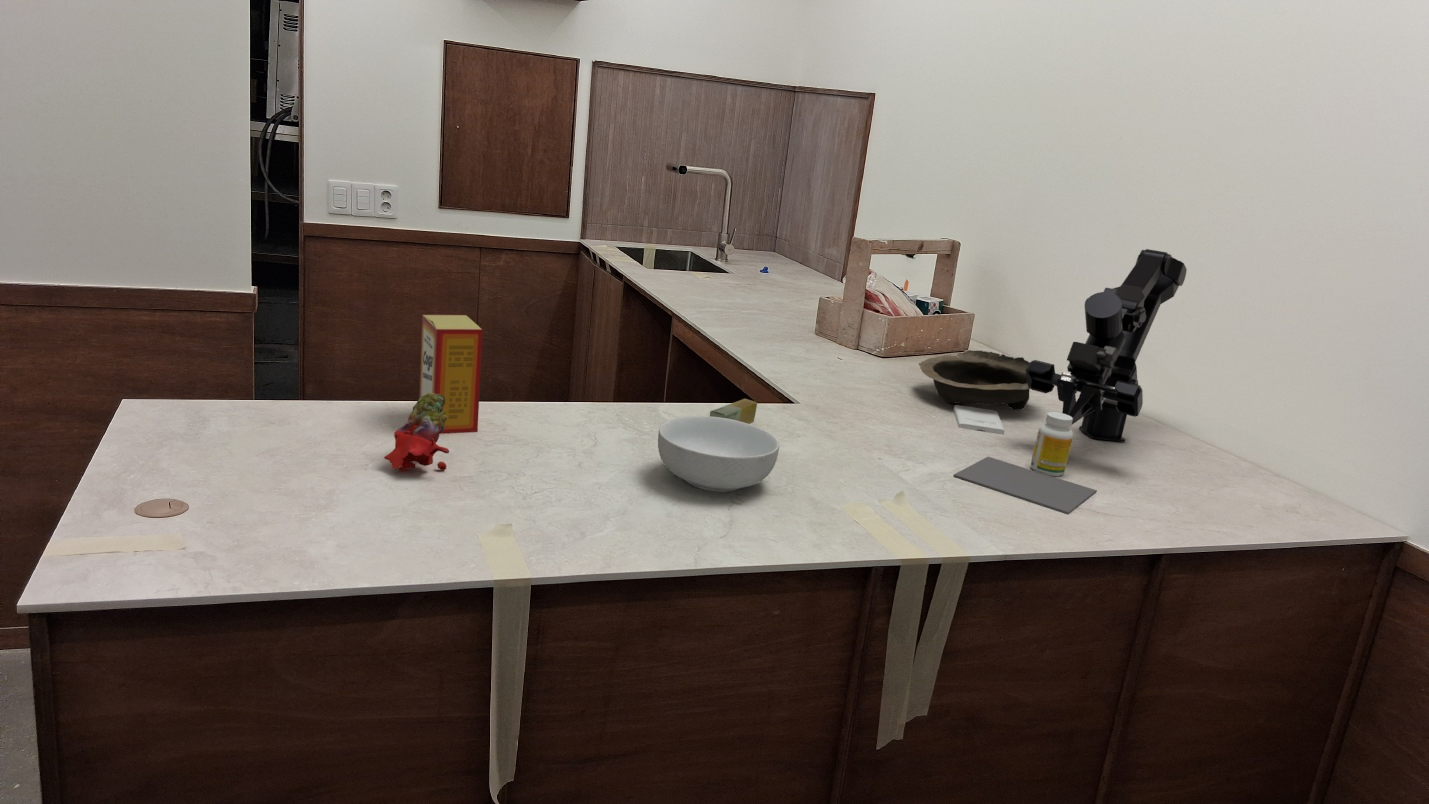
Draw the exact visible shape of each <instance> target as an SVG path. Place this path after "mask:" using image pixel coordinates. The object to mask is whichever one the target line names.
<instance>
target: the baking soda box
mask: <svg viewBox="0 0 1429 804" xmlns="http://www.w3.org/2000/svg"><path fill="white" fill-rule="evenodd" d="M483 331H484V330H483V329H482V328H481V327H480V326H479V325H478V324H477V323H476V322H475V321H474V320H472V319H471V318H470V317H469V316H468V315H467V314H422V315H421V338H420V339H421V341H420V370H419V371H420V373H419V398H418V400H419V399H420V397H422V396H424V395H426V394H428V393H435V394H439V395H443V396H444V397H445V404H444V405H443V407H442V409H443V410H445V415H446V416H447V420H446V421H445V423H444V429H443V431H442V432H441V433H440V434H439V435H444V434H461V433H463V434H465V433H478V430H479V429H478V427H479V408H480V407H479V406H480V394H481V393H480V391H481V388H480V387H481V374H482V373H481V368H482V355H483V353H482V350H483Z"/></svg>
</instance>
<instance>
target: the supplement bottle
mask: <svg viewBox="0 0 1429 804" xmlns="http://www.w3.org/2000/svg"><path fill="white" fill-rule="evenodd" d="M1072 421H1073V418H1072V417H1071V416H1069V415H1066V414H1063V413H1062V412H1058V411H1057V412H1056V411H1049V412H1047V413H1046V417H1045V423H1043V424H1042V425H1040V426H1039V428H1038V432H1037V435H1036V440H1035V444H1034V449H1033V452H1032V458H1031V462H1030V468H1031V470H1033V471H1036V472H1040V473H1043V474H1046V475H1049V476H1052V477H1060V476H1063V475H1064V474H1065V471H1066V468H1067V463H1068V458H1069V455H1070V450H1071V447H1072V442H1073V440H1074V438H1073V437H1074V433H1073V431H1072V429H1070V428H1071V426H1072Z"/></svg>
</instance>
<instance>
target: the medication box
mask: <svg viewBox="0 0 1429 804" xmlns="http://www.w3.org/2000/svg"><path fill="white" fill-rule="evenodd" d="M757 407H758V402H756V401H754V400H750V399H747V398H742V399H740V400H738V401H735V402H732V403H729V404H726V405H724V406H721V407H719V408H715V409H714V410H710V412H709V416H710V417H720V418H727V419H732V420H736V421H741V422H744V423H748V424H752V423H754V421H755V418H756V412H757Z"/></svg>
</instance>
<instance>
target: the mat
mask: <svg viewBox="0 0 1429 804" xmlns="http://www.w3.org/2000/svg"><path fill="white" fill-rule="evenodd" d="M953 477H954V478H957V479H960V480H963V481H966V482H968V483H973V484H976V485H978V486H981V487H984V488H987V489H991V490H993V491H996V492H1000V493H1003V494H1005V495H1009V496H1011V497H1015V498H1018V499H1022V500H1024V501H1027V502H1031V503H1032V504H1036V505H1038V506H1039V505H1040V506H1042V507H1045V508H1048V509H1051V510H1054V511H1058V512H1060V513H1064V514H1067V515H1069V514H1070V513H1071V512H1073V511H1074V510H1075V509H1077V508H1078V507H1079V506H1081V505H1082V504H1083V503H1085V502H1086V501H1087V500H1088V499H1089V498H1091V497H1093V495H1095V494H1096V493H1097V489H1094V488H1092V487H1091V488H1090V487H1087V486H1084V485H1081V484H1078V483H1076V482H1075V483H1074V482H1072V481H1068V480H1064V479H1063V478H1058V477H1057V476H1049V475H1046V474H1043V473H1040V472H1036V471H1034V470H1033V469H1030V468H1026V467H1023V466H1019V465H1017V464H1013V463H1010V462H1007V461H1004V460H1000V459H997V458H994V457H991V456H986V457H984V458H982V459H981V460H979V461H976V462H975V463H973V464H971V465H969V466H968V467H965V468H964V469H961V470H960V471H958V472H956V473H954V474H953Z"/></svg>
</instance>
